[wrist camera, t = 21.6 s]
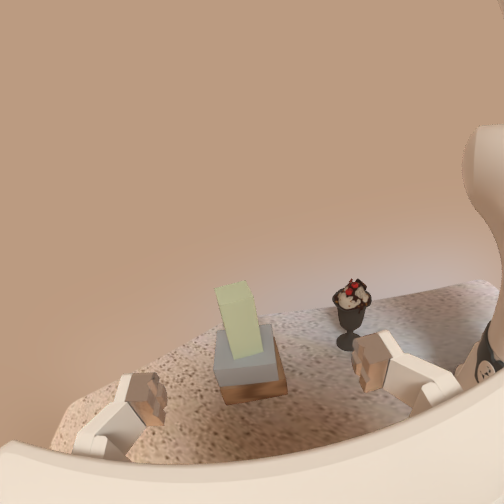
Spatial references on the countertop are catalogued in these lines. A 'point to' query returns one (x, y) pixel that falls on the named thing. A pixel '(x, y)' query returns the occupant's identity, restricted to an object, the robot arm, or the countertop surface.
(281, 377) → the tower base block
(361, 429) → the countertop surface
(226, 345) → the tower top block
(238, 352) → the pillar block
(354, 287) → the sundae
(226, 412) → the countertop surface
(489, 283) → the countertop surface
